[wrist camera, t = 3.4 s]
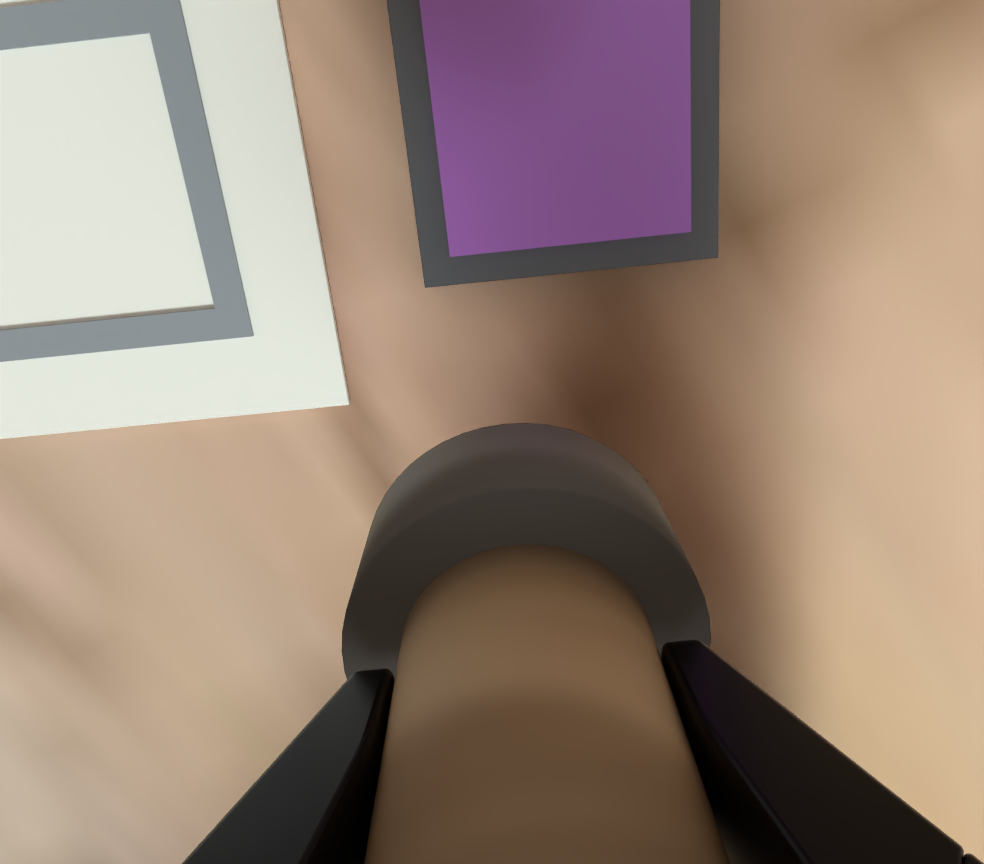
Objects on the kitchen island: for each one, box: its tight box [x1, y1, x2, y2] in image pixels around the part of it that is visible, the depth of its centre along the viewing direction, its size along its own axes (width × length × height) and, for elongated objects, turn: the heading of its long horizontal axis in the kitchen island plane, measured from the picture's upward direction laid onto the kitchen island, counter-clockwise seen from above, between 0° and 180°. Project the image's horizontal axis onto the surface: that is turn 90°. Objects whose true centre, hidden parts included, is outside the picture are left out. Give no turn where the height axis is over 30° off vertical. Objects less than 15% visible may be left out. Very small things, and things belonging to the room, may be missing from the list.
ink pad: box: [387, 0, 720, 288], centre depth 16 cm, size 10×7×1 cm
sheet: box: [0, 0, 350, 439], centre depth 18 cm, size 12×12×1 cm
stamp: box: [342, 423, 730, 864], centre depth 8 cm, size 4×4×7 cm
